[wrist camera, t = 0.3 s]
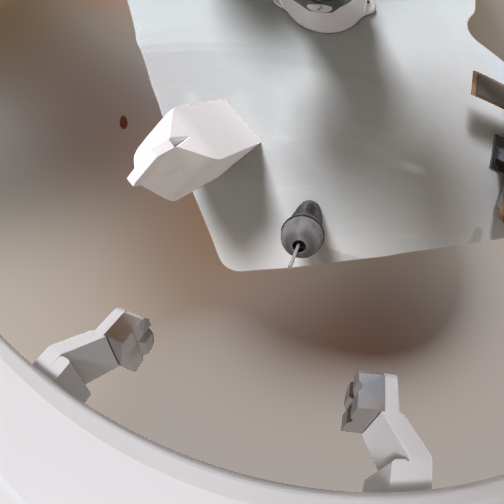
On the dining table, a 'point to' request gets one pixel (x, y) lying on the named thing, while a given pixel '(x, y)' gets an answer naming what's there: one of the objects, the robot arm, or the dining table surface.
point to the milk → (191, 148)
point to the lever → (495, 95)
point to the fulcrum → (497, 154)
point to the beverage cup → (303, 231)
